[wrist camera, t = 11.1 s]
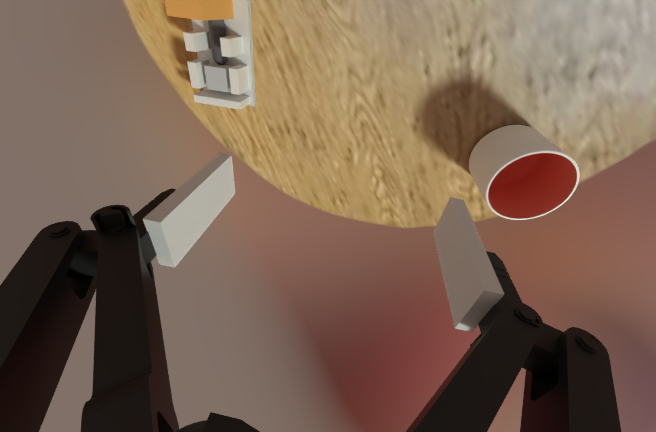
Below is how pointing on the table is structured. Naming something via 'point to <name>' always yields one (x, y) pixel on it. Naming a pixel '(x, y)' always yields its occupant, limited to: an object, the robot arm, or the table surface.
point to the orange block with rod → (214, 6)
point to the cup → (522, 172)
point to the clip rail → (233, 47)
